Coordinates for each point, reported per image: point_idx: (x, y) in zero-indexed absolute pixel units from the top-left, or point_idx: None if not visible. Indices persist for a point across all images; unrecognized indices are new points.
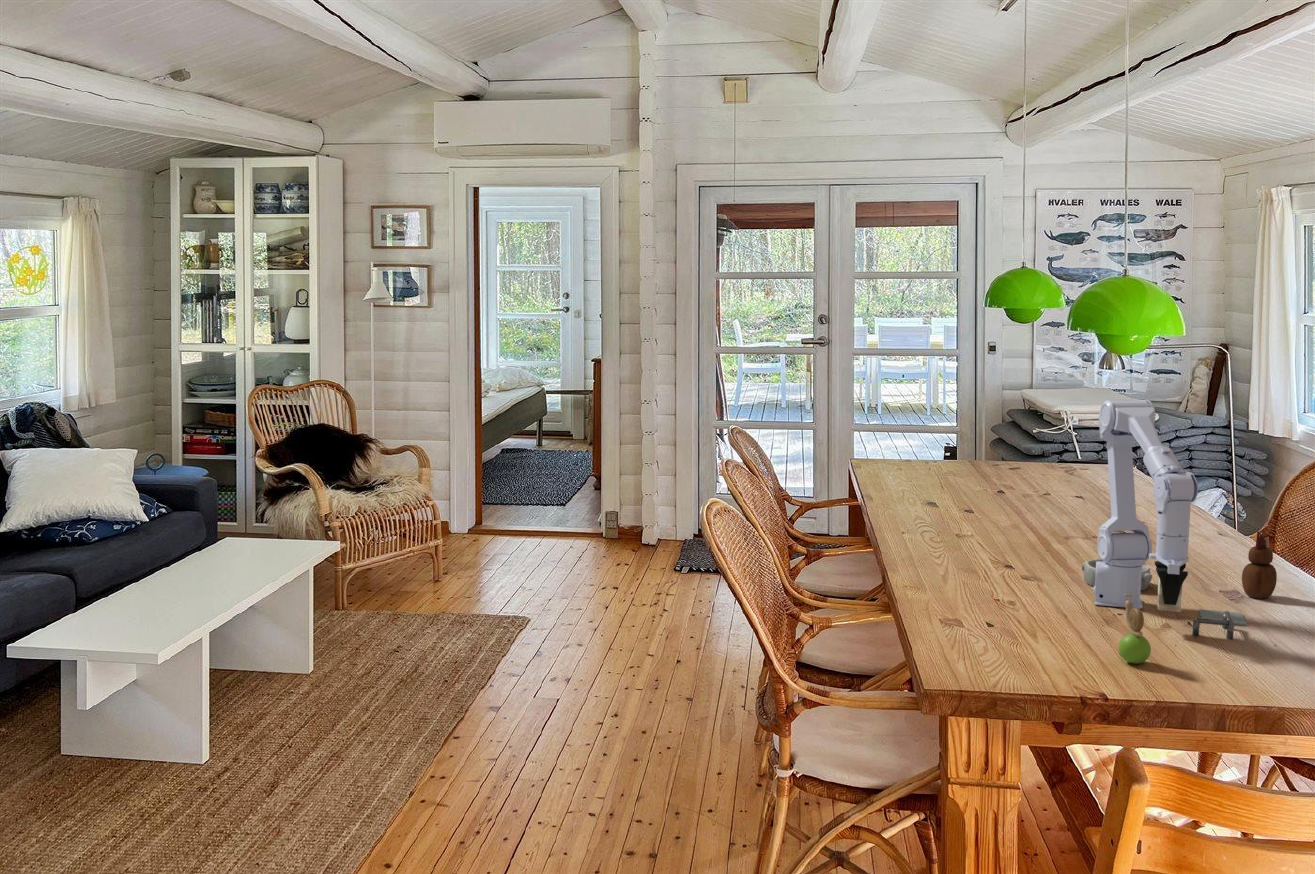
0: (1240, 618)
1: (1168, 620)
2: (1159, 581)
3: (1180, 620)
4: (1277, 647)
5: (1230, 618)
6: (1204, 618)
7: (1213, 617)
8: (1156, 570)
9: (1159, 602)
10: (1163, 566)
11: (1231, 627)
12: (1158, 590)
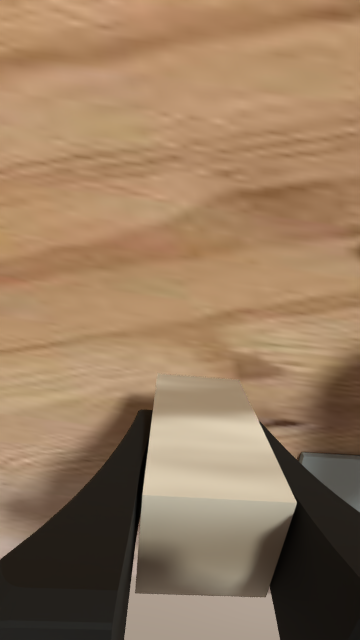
0: None
1: (306, 381)
2: (177, 479)
3: (309, 408)
4: None
5: None
6: None
7: (326, 479)
8: (9, 603)
9: (155, 394)
10: (337, 624)
11: None
12: (221, 424)
